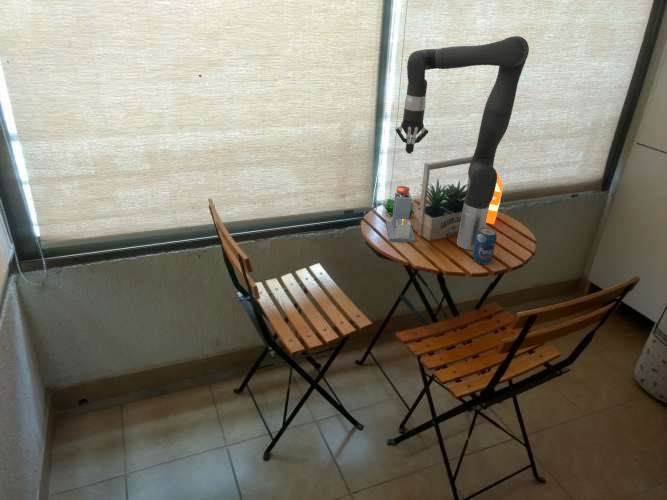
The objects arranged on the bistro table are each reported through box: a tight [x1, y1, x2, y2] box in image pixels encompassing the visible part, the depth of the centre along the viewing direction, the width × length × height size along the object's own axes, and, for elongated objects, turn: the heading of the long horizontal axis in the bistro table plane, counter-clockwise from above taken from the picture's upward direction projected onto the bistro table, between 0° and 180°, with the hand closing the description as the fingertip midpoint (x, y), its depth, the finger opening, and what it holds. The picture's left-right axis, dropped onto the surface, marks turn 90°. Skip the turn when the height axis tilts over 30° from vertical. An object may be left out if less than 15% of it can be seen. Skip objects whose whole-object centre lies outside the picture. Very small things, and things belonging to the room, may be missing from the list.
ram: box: [395, 185, 410, 197], centre depth 203 cm, size 5×5×14 cm
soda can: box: [472, 227, 498, 265], centre depth 184 cm, size 7×7×12 cm
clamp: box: [385, 198, 414, 218], centre depth 218 cm, size 12×6×9 cm, turn 67°
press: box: [385, 191, 416, 243], centre depth 200 cm, size 10×16×14 cm, turn 0°
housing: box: [395, 218, 412, 239], centre depth 197 cm, size 5×5×7 cm
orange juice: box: [486, 172, 504, 225], centre depth 216 cm, size 8×9×20 cm
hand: (408, 152), depth 196 cm, fingers closed
